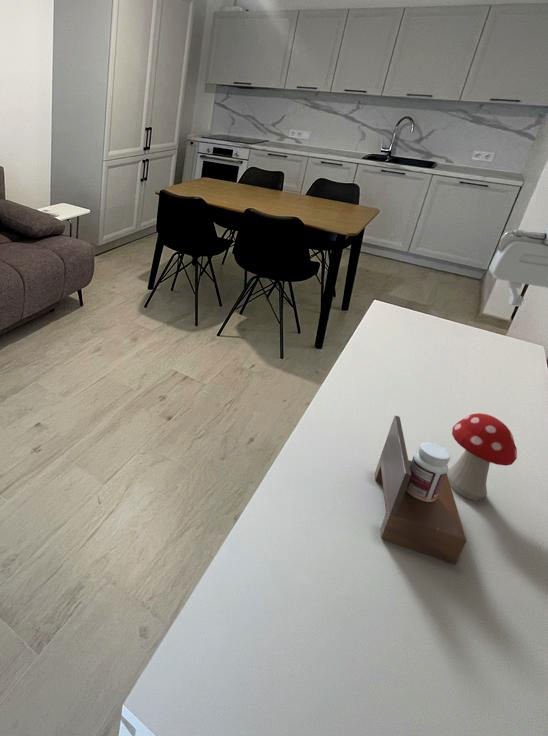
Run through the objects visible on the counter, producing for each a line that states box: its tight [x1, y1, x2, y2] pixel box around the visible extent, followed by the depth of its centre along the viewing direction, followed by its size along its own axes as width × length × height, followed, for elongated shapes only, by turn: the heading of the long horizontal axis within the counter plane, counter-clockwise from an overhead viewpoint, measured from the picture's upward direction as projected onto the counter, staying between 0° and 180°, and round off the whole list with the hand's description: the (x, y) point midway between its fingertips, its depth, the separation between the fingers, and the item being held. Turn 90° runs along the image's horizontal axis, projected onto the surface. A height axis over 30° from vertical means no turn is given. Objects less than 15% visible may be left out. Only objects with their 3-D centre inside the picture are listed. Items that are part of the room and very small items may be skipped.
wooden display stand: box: [374, 415, 468, 566], centre depth 80 cm, size 10×16×13 cm, turn 155°
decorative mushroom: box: [447, 412, 518, 501], centre depth 87 cm, size 10×9×15 cm
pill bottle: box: [406, 441, 451, 502], centre depth 79 cm, size 5×5×8 cm
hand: (545, 310), depth 91 cm, fingers open, 8 cm apart
